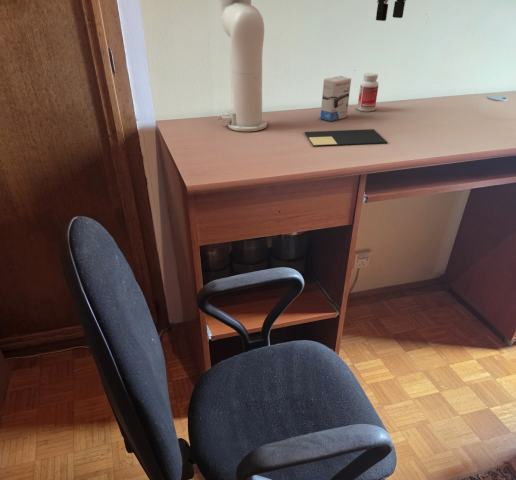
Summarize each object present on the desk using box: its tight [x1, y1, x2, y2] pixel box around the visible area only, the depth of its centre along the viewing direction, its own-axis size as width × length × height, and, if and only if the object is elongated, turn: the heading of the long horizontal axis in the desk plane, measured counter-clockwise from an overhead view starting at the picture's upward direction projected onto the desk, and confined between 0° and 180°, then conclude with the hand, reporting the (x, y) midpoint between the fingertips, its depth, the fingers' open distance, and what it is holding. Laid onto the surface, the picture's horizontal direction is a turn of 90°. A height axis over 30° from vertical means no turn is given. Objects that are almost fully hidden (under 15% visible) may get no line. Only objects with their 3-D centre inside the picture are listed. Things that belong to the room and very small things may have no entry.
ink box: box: [320, 75, 352, 122], centre depth 148 cm, size 8×5×12 cm, turn 131°
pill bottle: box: [357, 72, 379, 113], centre depth 156 cm, size 6×6×11 cm
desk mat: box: [304, 128, 388, 147], centre depth 135 cm, size 22×13×1 cm, turn 97°
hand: (389, 19), depth 136 cm, fingers open, 9 cm apart
